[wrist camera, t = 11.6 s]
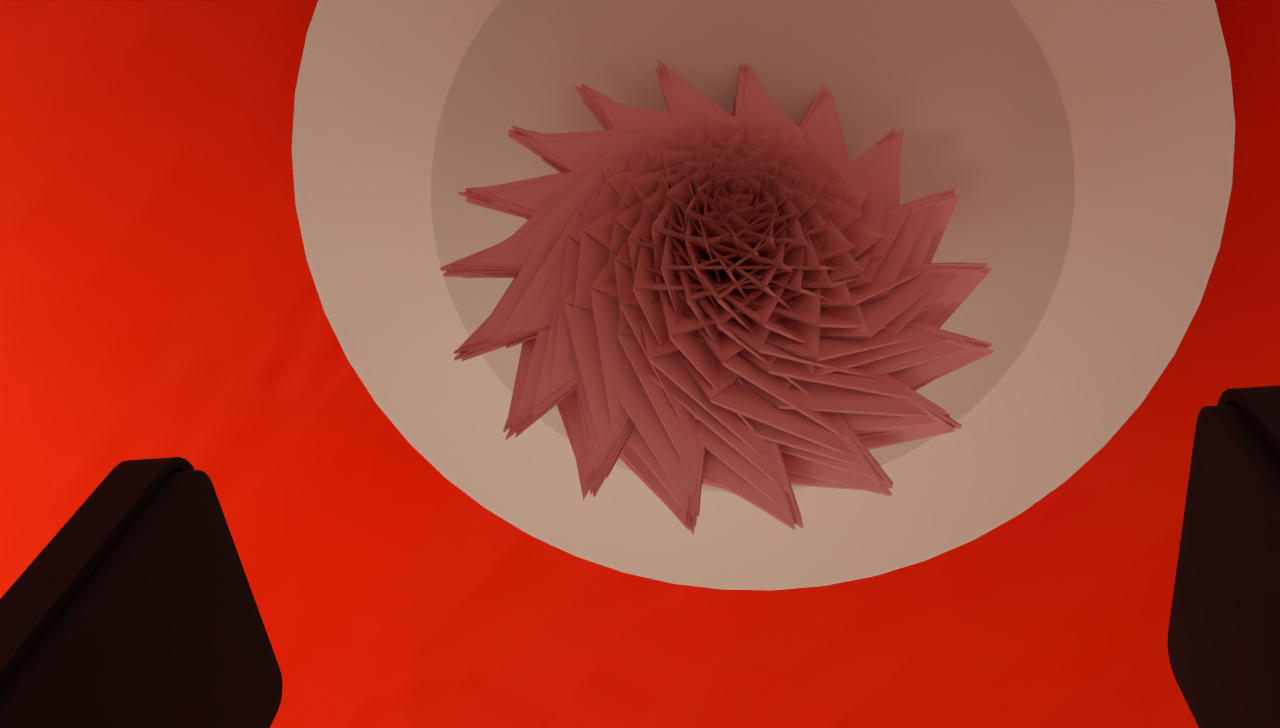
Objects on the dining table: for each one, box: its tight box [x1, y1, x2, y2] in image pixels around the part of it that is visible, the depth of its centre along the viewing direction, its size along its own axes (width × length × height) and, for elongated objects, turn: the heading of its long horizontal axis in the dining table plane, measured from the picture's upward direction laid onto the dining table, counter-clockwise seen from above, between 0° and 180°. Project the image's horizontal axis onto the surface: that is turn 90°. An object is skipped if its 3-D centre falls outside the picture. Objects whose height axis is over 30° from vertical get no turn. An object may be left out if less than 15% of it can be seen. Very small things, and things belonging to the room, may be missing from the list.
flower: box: [440, 59, 995, 535], centre depth 17 cm, size 8×8×6 cm
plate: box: [292, 0, 1235, 590], centre depth 20 cm, size 16×16×1 cm
